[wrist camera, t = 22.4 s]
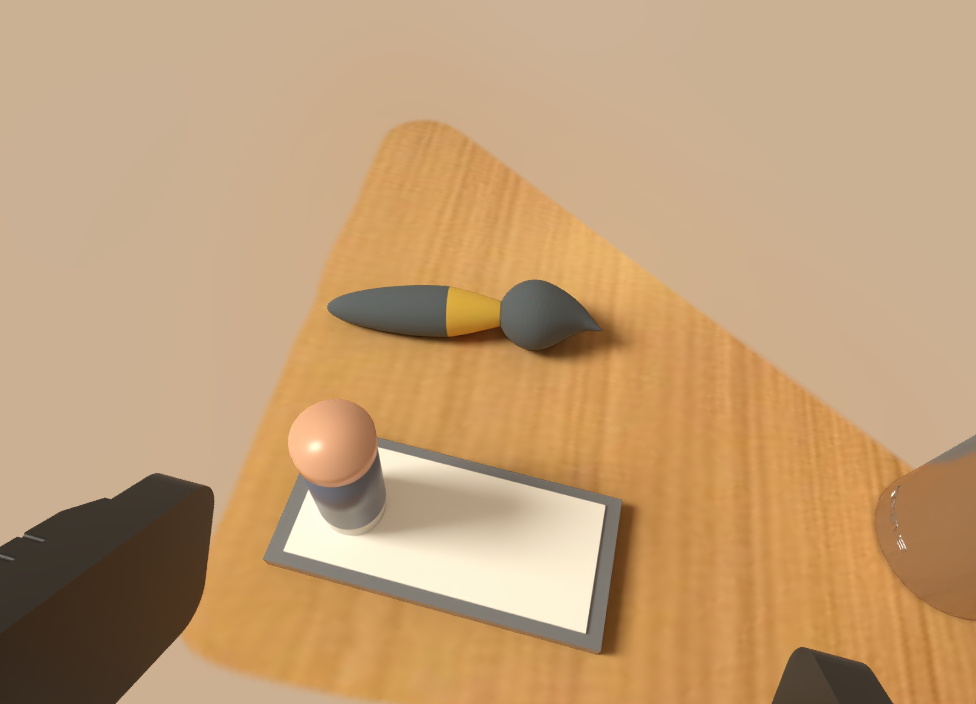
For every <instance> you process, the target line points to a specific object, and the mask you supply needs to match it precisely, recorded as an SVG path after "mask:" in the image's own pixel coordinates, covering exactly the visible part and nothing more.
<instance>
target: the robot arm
mask: <svg viewBox="0 0 976 704" xmlns="http://www.w3.org/2000/svg"><path fill="white" fill-rule="evenodd" d="M213 510H214V494H213V491H212V489H211V488H210V487H208V486H205V485H201V484H197V483H193V482H190V481H186V480H182V479H178V478H175V477H171V476H167V475H163V474H160V473H155V474H152V475H150V476H148V477H146V478H144V479H143V480H141V481H140V482H138V483H136V484H135V485H133V486H132V487H130V488H128V489H127V490H125V491H124V492H122V493H120V494H119V495H117V496H116V497H114V498H112V499H108V498H103V499H99V500H96V501H93V502H89V503H86V504H83V505H80V506H77V507H73V508H70V509H67V510H64V511H61V512H59V513H57V514H55V515H54V516H52V517H51V518H49V519H47V520H46V521H43V522H42V523H40V524H38V525H37V526H35V527H33V528H31V529H30V530H28V531H26V532H25V534H24V536H23V537H22V538H20V537H16V538H14V539H13V540H11V541H9V542H7V543H6V544H4V545H2V546H1V547H0V704H116V703H117V702H118V700H119V699H120V698H121V697H122V696H123V695H124V694H125V693H126V692H127V691H128V690H129V689H130V688H131V687H132V686H133V684H134V683H135V682H136V681H137V680H138V679H139V678H140V677H141V676H142V675H143V674H144V673H145V672H146V671H147V669H148V668H149V667H150V666H151V665H152V664H153V663H154V662H155V661H156V660H157V659H158V658H159V656H160V655H162V653H163V652H164V651H165V650H166V649H167V648H168V647H169V646H170V645H171V644H172V643H173V642H174V641H175V639H176V638H177V637H178V636H179V635H180V634H181V633H182V632H183V631H184V630H185V628H186V627H187V625H188V624H189V622H190V621H191V619H192V617H193V616H194V614H195V612H196V610H197V607H198V605H199V603H200V600H201V597H202V594H203V590H204V586H205V579H206V570H207V562H208V553H209V545H210V536H211V527H212V519H213ZM875 526H876V531H877V537H878V541H879V543H880V546H881V549H882V551H883V554H884V556H885V558H886V559H887V561H888V563H889V564H890V566H891V568H892V569H893V571H894V572H895V573H896V575H897V576H898V577H899V578H900V579H901V581H902V582H903V583H904V584H905V585H906V586H907V587H908V588H909V589H910V590H911V591H912V592H914V593H915V594H916V595H917V596H918V597H919V598H921V599H922V600H924V601H925V602H927V603H928V604H930V605H931V606H933V607H934V608H936V609H938V610H941V611H943V612H945V613H947V614H950V615H952V616H956V617H960V618H964V619H973V620H976V435H974V436H972V437H971V438H969V439H967V440H965V441H964V442H962V443H960V444H959V445H957V446H955V447H953V448H952V449H950V450H948V451H947V452H945V453H943V454H941V455H940V456H938V457H936V458H934V459H932V460H931V461H929V462H927V463H926V464H924V465H922V466H921V467H919V468H917V469H915V470H914V471H912V472H910V473H908V474H907V475H905V476H903V477H902V478H900V479H898V480H896V481H895V482H894V483H892V484H891V485H890V486H889V487H888V488H886V490H885V491H884V493H883V494H882V496H881V497H880V499H879V502H878V505H877V509H876V521H875ZM772 704H893V703H892V701H891V700H890V698H889V697H888V695H887V693H886V692H885V690H884V689H883V687H882V686H881V684H880V683H879V681H878V679H877V678H876V676H875V675H874V673H873V672H872V670H871V669H870V668H869V667H868V666H867V665H866V664H864V663H861V662H858V661H854V660H850V659H846V658H843V657H839V656H835V655H831V654H828V653H824V652H820V651H816V650H813V649H809V648H805V647H800V648H798V649H796V650H795V651H794V652H793V653H792V655H791V656H790V658H789V660H788V663H787V665H786V668H785V670H784V673H783V676H782V678H781V681H780V683H779V686H778V689H777V691H776V694H775V697H774V699H773V702H772Z"/></svg>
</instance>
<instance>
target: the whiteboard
mask: <svg viewBox="0 0 976 704" xmlns="http://www.w3.org/2000/svg"><path fill="white" fill-rule="evenodd" d="M377 442H378V452H379V457H380V462H381V467H382V473H383V478H384V483H385V488H386V508H385V512H384V515H383V517H382V519H381V520H380V522H379V523H378V524H377V525H376V526H375V527H374V528H373V529H371V530H370V531H368V532H366V533H363V534H360V535H355V536H349V535H343V534H340V533H338V532H336V531H335V530H333V529H332V528H331V527H330V526H329V525H328V523H327V522H326V520H325V519H324V518H323V517H322V515H321V514H320V512H319V510H318V508H317V506H316V504H315V502H314V500H313V498H312V496H311V494H310V491H309V489H308V487H307V485H306V483H305V481H304V479H303V477H302V475H301V474H299V476H298V478H297V481H296V483H295V485H294V488H293V490H292V492H291V495H290V497H289V499H288V502H287V504H286V506H285V509H284V511H283V513H282V516H281V518H280V520H279V523H278V525H277V527H276V530H275V532H274V535H273V537H272V539H271V542H270V544H269V546H268V549H267V551H266V553H265V556H264V558H263V560H264V561H265V562H267V563H268V564H270V565H274V566H277V567H281V568H284V569H288V570H292V571H295V572H299V573H303V574H306V575H310V576H313V577H317V578H321V579H324V580H328V581H332V582H335V583H339V584H343V585H346V586H350V587H353V588H357V589H361V590H364V591H368V592H372V593H375V594H379V595H382V596H386V597H390V598H393V599H397V600H401V601H404V602H408V603H412V604H415V605H419V606H422V607H426V608H430V609H433V610H437V611H441V612H444V613H448V614H451V615H455V616H459V617H462V618H466V619H470V620H473V621H477V622H480V623H484V624H488V625H491V626H495V627H499V628H502V629H506V630H510V631H513V632H517V633H520V634H524V635H528V636H531V637H535V638H539V639H542V640H546V641H549V642H553V643H557V644H560V645H564V646H568V647H571V648H575V649H578V650H582V651H586V652H589V653H593V654H598V653H600V652H601V646H602V639H603V632H604V625H605V618H606V610H607V603H608V596H609V589H610V582H611V575H612V568H613V561H614V554H615V546H616V539H617V532H618V525H619V518H620V511H621V504H622V500H621V499H617V498H613V497H609V496H605V495H601V494H598V493H594V492H590V491H586V490H582V489H578V488H574V487H570V486H566V485H562V484H558V483H554V482H550V481H546V480H542V479H539V478H535V477H531V476H527V475H523V474H519V473H515V472H511V471H507V470H503V469H499V468H495V467H491V466H487V465H483V464H479V463H476V462H472V461H468V460H464V459H460V458H456V457H452V456H448V455H444V454H440V453H436V452H432V451H428V450H424V449H420V448H417V447H413V446H409V445H405V444H401V443H397V442H393V441H389V440H385V439H381V438H377Z"/></svg>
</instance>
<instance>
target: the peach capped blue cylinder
mask: <svg viewBox="0 0 976 704" xmlns="http://www.w3.org/2000/svg"><path fill="white" fill-rule="evenodd" d="M288 448H289V452H290V456H291V458H292V460H293V462H294V464H295V466H296V468H297V470H298V471H299V473H300V474H301V475H302V477H303V479H304V481H305V483H306V485H307V487H308V489H309V491H310V494H311V496H312V498H313V500H314V502H315V504H316V506H317V508H318V510H319V512H320V514H321V515H322V517H323V518H324V519H325V520H326V522H327V523H328V525H329V526H330V527H331V528H332V529H333V530H335V531H336V532H338V533H340V534H343V535H349V536H355V535H360V534H363V533H366V532H368V531H370V530H371V529H373V528H374V527H375V526H376V525H377V524H378V523H379V522H380V520H381V519H382V517H383V515H384V512H385V508H386V488H385V483H384V478H383V473H382V467H381V462H380V457H379V452H378V442H377V436H376V430H375V426H374V423H373V420H372V419H371V417H370V415H369V414H368V413H367V412H366V411H365V410H364V409H363V408H362V407H360V406H359V405H357V404H355V403H353V402H350V401H347V400H341V399H331V400H325V401H321V402H318V403H316V404H314V405H312V406H310V407H309V408H307V409H306V410H304V411H303V412H302V413H301V414H300V415H299V416H298V417H297V419H296V420H295V422H294V423H293V425H292V427H291V429H290V433H289V437H288Z"/></svg>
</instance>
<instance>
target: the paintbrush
mask: <svg viewBox="0 0 976 704" xmlns="http://www.w3.org/2000/svg"><path fill="white" fill-rule="evenodd" d="M327 309H328V311H329V312H330V313H331V314H333V315H334V316H336V317H337V318H339V319H341V320H344V321H346V322H349V323H352V324H355V325H359V326H363V327H367V328H371V329H376V330H381V331H386V332H393V333H399V334H407V335H417V336H432V337H448V336H449V337H450V336H457V335H463V334H468V333H473V332H477V331H482V330H486V329H490V328H494V327H498V326H500V325H501V328H502V330H503V332H504V333H505V335H506V336H507V337H508V338H509V339H510V340H511V341H512V342H513V343H514V344H516V345H517V346H519V347H521V348H524V349H528V350H541V349H545V348H548V347H551V346H553V345H555V344H557V343H559V342H561V341H563V340H565V339H567V338H569V337H571V336H573V335H575V334H577V333H580V332H585V331H602V329H601V328H600V327H599V326H598V325H597V324H596V322H595V321H594V320H593V318H592V317H591V316H590V315H589V313H588V312H587V311H586V310H585V308H584V307H583V306H582V305H581V304H580V303H579V302H578V301H577V300H576V299H575V298H573V297H572V296H571V295H570V294H568V293H567V292H565V291H564V290H562V289H560V288H559V287H557V286H555V285H553V284H551V283H549V282H546V281H542V280H528V281H524V282H522V283H519V284H517V285H516V286H514V287H513V288H512V289H511V290H510V291H509V292H508V293H507V294H506V295H505V296H504V298H503V300H502V302H501V301H499V300H496V299H493V298H490V297H487V296H484V295H480V294H477V293H473V292H470V291H466V290H462V289H459V288H455V287H449V286H435V285H410V286H394V287H383V288H375V289H368V290H363V291H357V292H353V293H349V294H346V295H343V296H340V297H338V298H336V299H334V300H332V301H331V302H330V303H329V304H328V306H327Z"/></svg>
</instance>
